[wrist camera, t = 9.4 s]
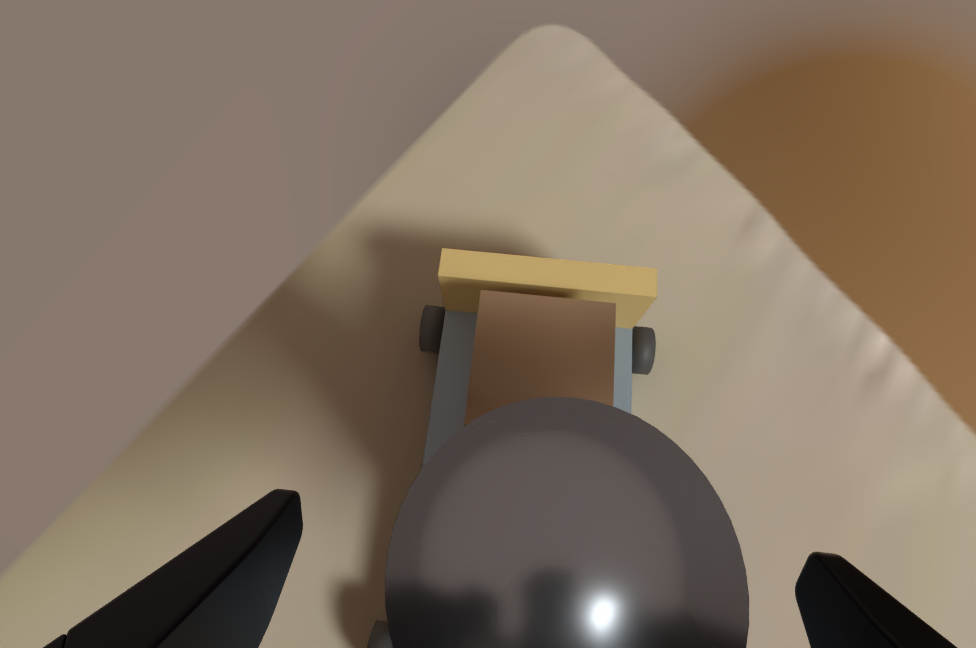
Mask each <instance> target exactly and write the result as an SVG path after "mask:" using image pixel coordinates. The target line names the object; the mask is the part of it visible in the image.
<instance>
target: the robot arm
mask: <svg viewBox="0 0 976 648" xmlns="http://www.w3.org/2000/svg"><path fill="white" fill-rule="evenodd" d="M302 530H303V521H302V511H301V501H300V495H299V493H298V492H296V491H293V490H284V489H275V490H273V491H271V492H270V493H268V494H267V495H265V496H264V497H262V498H261V499H259V500H258V501H256V502H255V503H254V504H252V505H251V506H249V507H248V508H246V509H245V510H243V511H242V512H240V513H239V514H237V515H236V516H235V517H233V518H232V519H230V520H229V521H227V522H226V523H224V524H223V525H221V526H220V527H218V528H217V529H216V530H214V531H213V532H211V533H210V534H208V535H207V536H205V537H204V538H202V539H201V540H200V541H198V542H197V543H195V544H194V545H192V546H191V547H189V548H188V549H186V550H185V551H183V552H182V553H181V554H179V555H178V556H176V557H175V558H173V559H172V560H170V561H169V562H167V563H166V564H164V565H163V566H162V567H160V568H159V569H157V570H156V571H154V572H153V573H151V574H150V575H148V576H147V577H146V578H144V579H143V580H141V581H140V582H138V583H137V584H135V585H134V586H132V587H131V588H129V589H128V590H127V591H125V592H124V593H122V594H121V595H119V596H118V597H116V598H115V599H113V600H112V601H111V602H109V603H108V604H106V605H105V606H103V607H102V608H100V609H99V610H97V611H96V612H94V613H93V614H92V615H90V616H89V617H87V618H86V619H84V620H83V621H81V622H80V623H78V624H77V625H75V626H74V627H73V628H71V629H70V630H69V631H68V633H67V635H66V634H63V635H61V636H59V637H58V638H56V639H55V640H53V641H52V642H50V643H49V644H47V645H46V646H45V647H43V648H258V647H259V645H260V643H261V641H262V639H263V636H264V634H265V632H266V630H267V628H268V625H269V623H270V620H271V618H272V615H273V613H274V610H275V607H276V605H277V602H278V599H279V597H280V594H281V591H282V588H283V586H284V583H285V580H286V577H287V575H288V572H289V569H290V566H291V564H292V561H293V558H294V555H295V553H296V550H297V547H298V544H299V542H300V539H301V535H302ZM795 595H796V600H797V604H798V607H799V610H800V613H801V617H802V620H803V623H804V627H805V630H806V633H807V636H808V640H809V643H810V646H811V648H957V647H956V646H955V645H953V644H952V643H951V642H950V641H948V640H947V639H946V638H944V637H943V636H942V635H941V634H939V633H938V632H937V631H936V630H934V629H933V628H932V627H930V626H929V625H928V624H927V623H925V622H924V621H923V620H922V619H920V618H919V617H918V616H917V615H915V614H914V613H913V612H911V611H910V610H909V609H908V608H906V607H905V606H904V605H903V604H901V603H900V602H899V601H898V600H896V599H895V598H894V597H892V596H891V595H890V594H889V593H887V592H886V591H885V590H884V589H882V588H881V587H880V586H878V585H877V584H876V583H875V582H873V581H872V580H871V579H870V578H868V577H867V576H866V575H865V574H863V573H862V572H861V571H859V570H858V569H857V568H856V567H854V566H853V565H852V564H851V563H849V562H848V561H847V560H846V559H844V558H843V557H841V556H839V555H837V554H832V553H823V552H813V553H812V554H810V555H809V557H808V558H807V561H806V563H805V565H804V567H803V569H802V571H801V574H800V576H799V578H798V580H797V582H796V586H795Z"/></svg>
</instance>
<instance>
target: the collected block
mask: <svg viewBox="0 0 976 648" xmlns="http://www.w3.org/2000/svg"><path fill="white" fill-rule="evenodd" d="M615 324H616V303H609V302H599V301H588V300H578V299H568V298H558V297H548V296H538V295H528V294H517V293H507V292H497V291H487V290H481V292H480V300H479V308H478V316H477V324H476V332H475V340H474V348H473V356H472V364H471V372H470V380H469V388H468V395H467V403H466V411H465V419H464V426H466V425H467V424H469V423H470V422H472V421H473V420H475V419H477V418H479V417H481V416H482V415H484V414H486V413H488V412H490V411H492V410H495V409H497V408H500V407H503V406H506V405H508V404H511V403H515V402H519V401H524V400H529V399H533V398H545V397H572V398H580V399H586V400H592V401H597V402H600V403H603V404H607V405H610V406H613V401H614V363H615Z"/></svg>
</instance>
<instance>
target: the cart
mask: <svg viewBox="0 0 976 648" xmlns="http://www.w3.org/2000/svg"><path fill="white" fill-rule="evenodd" d="M438 279H439V283H440V287H441V292H442V296H443V301H444V305H445V307H438V306H428V305H426V306H425V308H424V310H423V314H422V319H421V325H420V350H421V351H424V352H434V353H439V357H438V364H437V371H436V378H435V384H434V391H433V398H432V404H431V411H430V418H429V425H428V431H427V438H426V445H425V451H424V458H423V465H422V468H423V467H424V465H425V464H426V463H427V461H428V460H429V459H430V458H431V457H432V456H433V454H434V453H435V452H436V451H437V450H438V449H439V447H440V446H442V445H443V444H444V443H445V442H446V441H447V440H448V439H449V438H450V437H451V436H453V435H454V434H455V433H456V432H457V431H459V430H460V429H462V428H463V427H464V419H465V411H466V403H467V395H468V388H469V380H470V372H471V364H472V356H473V348H474V340H475V332H476V324H477V316H478V308H479V300H480V292H481V290H487V291H497V292H507V293H517V294H528V295H538V296H548V297H558V298H568V299H578V300H588V301H599V302H609V303H616V324H615V363H614V401H613V407H616V408H619V409H621V410H623V411H625V412H628V413H630V414H631V396H632V373H635V374H645V375H648V374H649V373H650V371H651V369H652V366H653V362H654V357H655V346H656V342H655V333H654V330H653V329H652V328H647V327H637V326H635V325H636V324H637V322H638V321H639V320H640V318H641V317H642V316H643V315H644V313H645V312H646V311H647V309H648V308H649V307H650V305H651V304H652V303H653V302H654V300H655V299H656V298H657V269H656V268H645V267H635V266H624V265H614V264H603V263H593V262H582V261H572V260H561V259H551V258H540V257H530V256H519V255H509V254H498V253H488V252H477V251H467V250H456V249H446V248H442V252H441V259H440V265H439V271H438ZM367 648H393V645H392V641H391V637H390V634H389V627H388V622H387V621H379V620H377V621H376V622H375V624H374V627H373V629H372V632H371V635H370V639H369V643H368V647H367Z"/></svg>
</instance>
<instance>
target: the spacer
mask: <svg viewBox="0 0 976 648" xmlns="http://www.w3.org/2000/svg"><path fill="white" fill-rule="evenodd" d="M385 600H386V612H387V620H388V627H389V634H390V637H391V641H392V645H393V648H746V644H747V636H748V628H749V594H748V585H747V577H746V569H745V565H744V561H743V557H742V553H741V548H740V544H739V542H738V539H737V536H736V533H735V531H734V528H733V525H732V522H731V520H730V518H729V516H728V514H727V512H726V510H725V508H724V506H723V504H722V502H721V500H720V498H719V496H718V495H717V493H716V492H715V490H714V488H713V487H712V485H711V484H710V482H709V481H708V479H707V477H706V476H705V475H704V474H703V473H702V471H701V470H700V469H699V468H698V466H697V465H696V464H695V463H694V462H693V460H692V459H691V458H690V457H689V456H688V455H687V454H686V453H685V452H684V451H683V450H682V449H681V448H680V447H679V446H678V445H677V444H676V443H675V442H673V441H672V440H671V439H670V438H668V437H667V436H666V435H664V434H663V433H662V432H660V431H659V430H658V429H657V428H655V427H653V426H652V425H650V424H648V423H647V422H645V421H643V420H642V419H640V418H638V417H637V416H634V415H632V414H630V413H628V412H625V411H623V410H621V409H619V408H616V407H613V406H610V405H607V404H603V403H600V402H597V401H592V400H586V399H580V398H572V397H545V398H533V399H529V400H524V401H519V402H515V403H511V404H508V405H506V406H503V407H500V408H497V409H495V410H492V411H490V412H488V413H486V414H484V415H482V416H481V417H479V418H477V419H475V420H473V421H472V422H470V423H469V424H467V425H466V426H464V427H463V428H462V429H460V430H459V431H457V432H456V433H455V434H454V435H453V436H451V437H450V438H449V439H448V440H447V441H446V442H445V443H444V444H443V445H442V446H440V447H439V449H438V450H437V451H436V452H435V453H434V454H433V456H432V457H431V458H430V459H429V460H428V461H427V463H426V464H425V465H424V467H423V468H422V470H421V471H420V473H419V474H418V476H417V477H416V479H415V480H414V482H413V483H412V485H411V487H410V489H409V491H408V493H407V495H406V497H405V499H404V501H403V503H402V505H401V508H400V511H399V514H398V517H397V520H396V522H395V525H394V528H393V532H392V537H391V541H390V546H389V550H388V556H387V566H386V576H385Z"/></svg>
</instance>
